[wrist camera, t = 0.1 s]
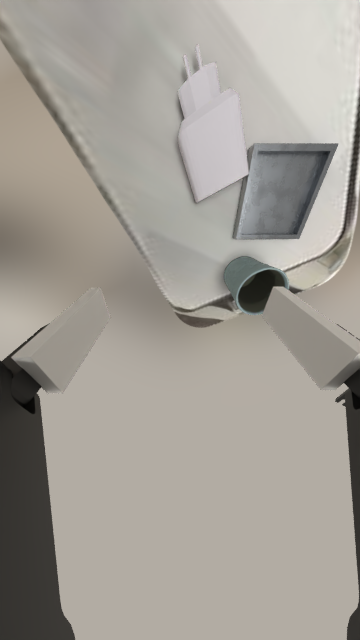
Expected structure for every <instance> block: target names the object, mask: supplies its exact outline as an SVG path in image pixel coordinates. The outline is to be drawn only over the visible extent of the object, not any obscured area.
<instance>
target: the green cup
mask: <svg viewBox="0 0 360 640" xmlns="http://www.w3.org/2000/svg"><path fill="white" fill-rule="evenodd" d="M224 280H225V283H226V285H227V286H228V288H229V291H230V292H231V294H232V296H233V298H234V300H235V302H236V304H237V306H238V307H239V309H240V310H241V311H242V312H244V313H246V314H250V315H259V314H263V312H264V309H265V306H266V304H267V301H268V299H269V296H270V294H271V291H272V289H273V287H284V288H286V289H287V290H288V289H289V280H288V278H287V276H286V274H285V273H284V272H283V271H281V270H280V269H277V268H274V267H272V266H269V265H267V264H263V263H261V262H259V261H257V260H255V259H253V258H250V257H239V258H237V259H235V260H233V261H232V262H231V263H230V264H229V265H228V266H227V268H226V270H225V273H224Z"/></svg>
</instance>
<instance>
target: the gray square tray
mask: <svg viewBox="0 0 360 640" xmlns="http://www.w3.org/2000/svg"><path fill="white" fill-rule="evenodd" d="M337 146H338V144H254V145H253V146H251V147H250V148H249V151H248V156H247V162H248V170H249V174H248V175H246V176H245V177H244V178H243V184H242V189H241V195H240V200H239V206H238V211H237V217H236V222H235V228H234V233H233V238H235V239H299V238H300V235H301V233H302V231H303V228H304V226H305V223H306V221H307V218H308V216H309V214H310V211H311V209H312V206H313V204H314V202H315V199H316V197H317V194H318V192H319V190H320V187H321V185H322V182H323V180H324V178H325V175H326V173H327V170H328V168H329V165H330V163H331V161H332V158H333V156H334V153H335V151H336V149H337Z"/></svg>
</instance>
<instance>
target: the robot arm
mask: <svg viewBox="0 0 360 640" xmlns="http://www.w3.org/2000/svg"><path fill="white" fill-rule="evenodd" d="M262 317H263V319H264V320H265V321H266V322H267V324H268V325H269V326H270V327H271V329H272V330H273V331H274V332H275V334H276V335H277V336H278V337H279V339H280V340H281V341H282V342H283V343H284V345H285V346H286V347H287V348H288V350H289V351H290V352H291V353H292V355H293V356H294V357H295V358H296V360H297V361H298V362H299V363H300V365H301V366H302V367H303V368H304V370H305V371H306V372H307V373H308V375H309V376H310V377H311V378H312V380H313V381H314V382H315V383H316V385H317V386H318V387H319V388H320V390H336V389H337V388H338V387H339V386H340V385H342V384H343V383H345V384H346V385H347V386H348V387H349V389H348V390H346V391H345V392H344V393H343V394H341V395H340V396H339V397H337V398H336V401H335V402H340V401H341V400H342V399H345V403H343V404H342V405H343V406H345V407H346V417H347V431H348V443H349V444H348V445H349V458H350V473H351V487H352V499H353V500H352V501H353V514H354V528H355V542H356V556H357V569H358V582H359V583H358V584H359V603H358V608H357V609H356V610H355V611H354V613H353V614H352V615H351V617H350V619H349V623H348V627H347V628H348V629H347V640H360V340H359V339H358V338H355V337H354V336H353V335H352V334H351V333H349V332H347V331H346V330H345V329H344V328H342V327H341V326H339V325H338V324H336V323H334V322H333V321H331V320H330V319H328V318H327V317H325V316H324V315H323V314H321V313H320V312H318V311H317V310H316V309H314V308H313V307H311V306H310V305H308V304H307V303H305V302H304V301H303V300H301V299H300V298H298V297H297V296H296V295H294V294H293V293H292V292H290V291H289V290H287V289H286V288H284V287H273V289H272V291H271V294H270V296H269V299H268V301H267V304H266V306H265V309H264V312H263V314H262ZM110 318H111V316H110V313H109V311H108V307H107V305H106V302H105V299H104V296H103V293H102V290H101V288H90V289H89V290H88V291H87V292H85V293H84V294H83V295H82V296H81V297H80V298H78V299H77V300H76V301H75V302H74V303H73V304H72V305H70V306H69V307H68V308H67V309H66V310H65V311H64V312H63V313H61V314H60V315H59V316H58V317H57V318H56V319H54V320H53V321H52V322H51V323H49V324H48V325H46V326H44V327H42V328H40V329H39V330H38V331H37V332H36V333H35V334H34V335H33V336H31V337H30V338H29V339H28V340H27V341H25V342H24V343H23V344H22V345H20V346H19V347H18V348H17V349H16V350H15V351H13V352H12V353H11V354H10V355H9V356H7V357H6V358H5V359H4V360H3V361H2V362H1V361H0V640H75V636H74V633H73V630H72V627H71V624H70V623H69V622H68V620H67V619H66V618H65V616H64V614H63V612H62V609H61V603H60V595H59V584H58V575H57V565H56V555H55V545H54V535H53V525H52V515H51V505H50V495H49V485H48V475H47V467H46V456H45V446H44V437H43V426H42V417H41V406H40V398H39V396H38V394H37V392H38V390H39V389H40V388H41V387H42V388H43V389H44V390H45V391H46V392H47V393H63V392H64V391H65V389H66V388H67V386H68V385H69V383H70V381H71V380H72V378H73V377H74V375H75V373H76V372H77V370H78V369H79V367H80V365H81V364H82V362H83V361H84V359H85V358H86V356H87V354H88V353H89V351H90V350H91V348H92V347H93V345H94V343H95V342H96V340H97V339H98V337H99V335H100V334H101V332H102V331H103V329H104V328H105V326H106V324H107V323H108V321H109V320H110Z"/></svg>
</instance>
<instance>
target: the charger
mask: <svg viewBox="0 0 360 640" xmlns="http://www.w3.org/2000/svg"><path fill="white" fill-rule="evenodd" d="M195 51H196V56H197V61H198V66H199V70H198V71H197V72H196V73H194V74H193V75H192V76H191V73H190V68H189V64H188V59H187V55H186V54H185V55H184V56H183V61H184V65H185V70H186V74H187V78H188V79H187V80H186V81H185V82H184V84H183V85H182V86H181V87H180V88H179V90H178V91H177V92H178V96H179V100H180V104H181V107H182V111H183V115H184V120H183V121H182V122H181V126H180V130H179V134H178V145H179V148H180V151H181V155H182V158H183V161H184V165H185V168H186V171H187V175H188V178H189V181H190V185H191V188H192V191H193V195H194V198H195V201H196V203H197V202H199V201H201V200H203V199H205V198H207V197H209V196H211V195H212V194H214V193H216V192H218V191H220V190H222V189H223V188H225V187H227V186H229V185H231V184H232V183H234V182H236V181H238V180H239V179H241V178H243V177H245V176H246V175H248V174H249V170H248V162H247V154H246V146H245V138H244V130H243V121H242V113H241V105H240V97H239V93H238V92H236V91H235V90H233V89H232V88H228V89H227V90H225V91H224V92H222V93H221V89H220V83H219V77H218V71H217V65H216V62H212V63H209V64H206V65H205V66H203V64H202V59H201V54H200V49H199V45H198V44H197V45H196V46H195Z"/></svg>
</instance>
